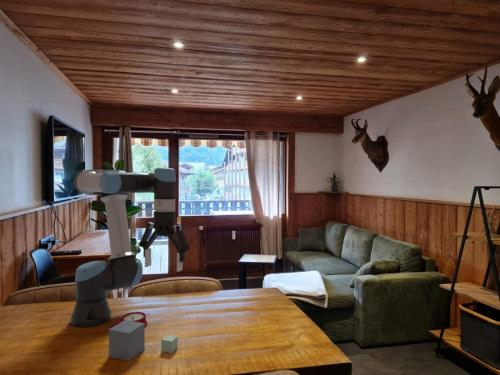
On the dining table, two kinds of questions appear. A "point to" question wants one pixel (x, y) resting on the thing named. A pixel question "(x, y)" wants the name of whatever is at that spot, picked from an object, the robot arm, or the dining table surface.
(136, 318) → the alarm clock
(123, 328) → the grey matte cube
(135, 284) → the robot arm
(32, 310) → the dining table surface
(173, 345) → the block
